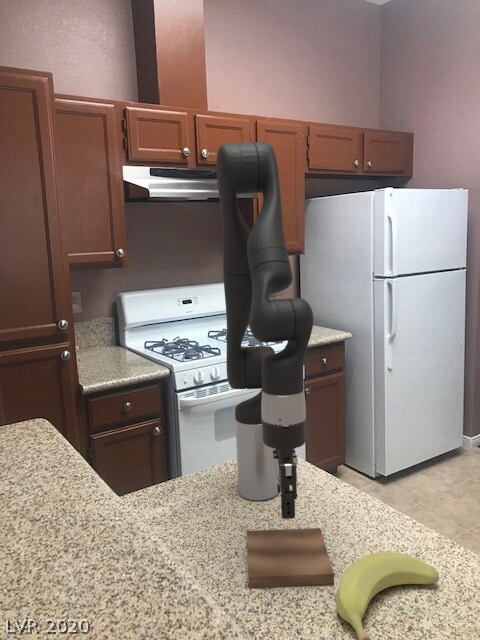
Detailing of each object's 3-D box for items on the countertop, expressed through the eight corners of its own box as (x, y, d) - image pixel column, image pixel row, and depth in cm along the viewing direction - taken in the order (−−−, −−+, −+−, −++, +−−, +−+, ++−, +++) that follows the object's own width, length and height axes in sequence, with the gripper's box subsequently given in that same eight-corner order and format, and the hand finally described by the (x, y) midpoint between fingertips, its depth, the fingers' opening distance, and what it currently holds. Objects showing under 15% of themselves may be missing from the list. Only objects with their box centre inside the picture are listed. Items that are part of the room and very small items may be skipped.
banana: (355, 553, 92) (320, 640, 75) (361, 527, 91) (326, 610, 73) (435, 586, 87) (417, 688, 70) (443, 559, 85) (427, 657, 68)
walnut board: (247, 540, 100) (246, 530, 100) (320, 537, 100) (320, 528, 100) (248, 588, 86) (248, 577, 86) (334, 585, 86) (333, 573, 86)
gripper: (259, 403, 96) (262, 487, 99) (263, 431, 82) (266, 527, 85) (300, 402, 96) (302, 485, 99) (311, 429, 82) (313, 526, 85)
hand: (285, 505), depth 92 cm, fingers open, 8 cm apart
